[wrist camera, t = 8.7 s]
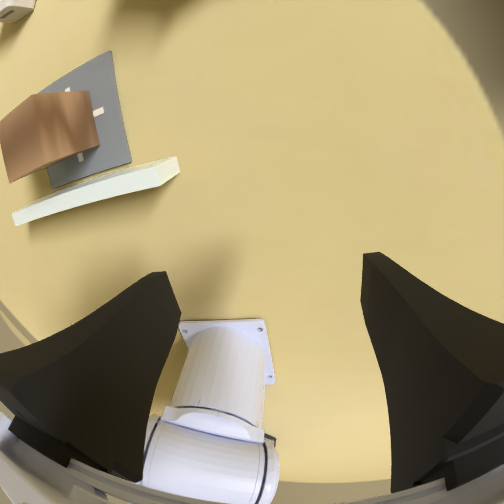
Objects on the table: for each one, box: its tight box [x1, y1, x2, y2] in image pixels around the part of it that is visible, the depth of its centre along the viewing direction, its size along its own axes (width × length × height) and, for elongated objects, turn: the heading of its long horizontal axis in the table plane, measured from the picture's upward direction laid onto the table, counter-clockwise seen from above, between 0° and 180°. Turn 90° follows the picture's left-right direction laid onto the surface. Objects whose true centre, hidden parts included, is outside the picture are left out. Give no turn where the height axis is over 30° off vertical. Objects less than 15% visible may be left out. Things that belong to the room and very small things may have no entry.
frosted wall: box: [11, 156, 180, 226], centre depth 18 cm, size 1×16×4 cm, turn 99°
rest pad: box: [38, 51, 132, 189], centre depth 17 cm, size 9×9×1 cm
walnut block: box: [0, 91, 100, 183], centre depth 14 cm, size 4×4×6 cm
